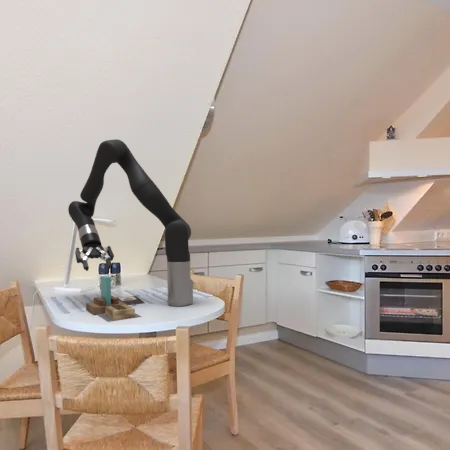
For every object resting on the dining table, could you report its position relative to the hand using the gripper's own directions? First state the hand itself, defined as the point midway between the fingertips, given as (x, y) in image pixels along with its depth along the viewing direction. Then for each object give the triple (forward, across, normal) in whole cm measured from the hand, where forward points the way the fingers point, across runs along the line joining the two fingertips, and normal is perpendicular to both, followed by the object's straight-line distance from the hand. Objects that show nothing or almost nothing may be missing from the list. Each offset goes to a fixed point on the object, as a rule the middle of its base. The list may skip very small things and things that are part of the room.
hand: (98, 268), depth 169 cm
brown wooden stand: (+17, 0, +5) cm, 17 cm away
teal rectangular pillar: (+15, 0, +3) cm, 15 cm away
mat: (+25, +1, -3) cm, 25 cm away
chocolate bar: (+8, +14, +14) cm, 22 cm away
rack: (+25, +1, -4) cm, 25 cm away
